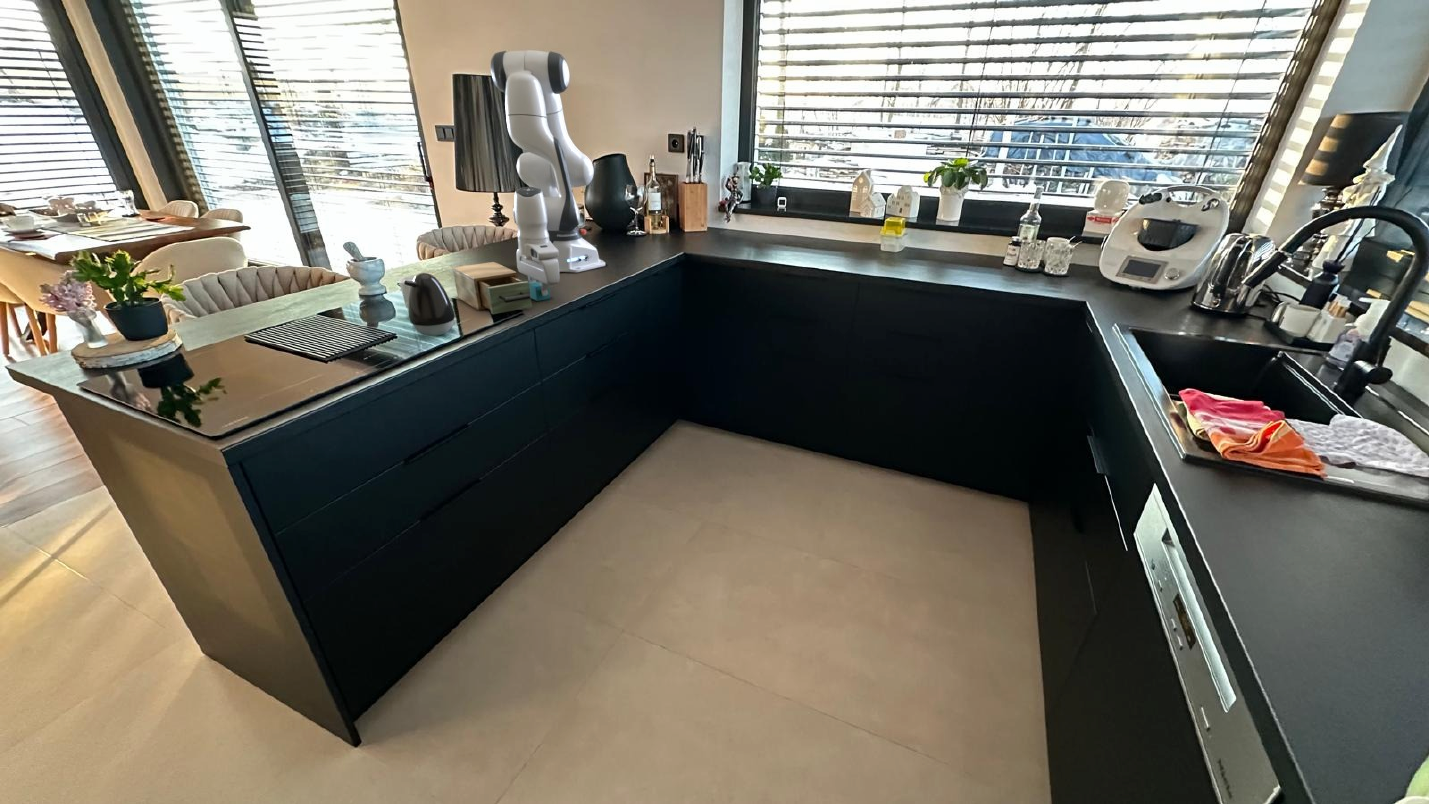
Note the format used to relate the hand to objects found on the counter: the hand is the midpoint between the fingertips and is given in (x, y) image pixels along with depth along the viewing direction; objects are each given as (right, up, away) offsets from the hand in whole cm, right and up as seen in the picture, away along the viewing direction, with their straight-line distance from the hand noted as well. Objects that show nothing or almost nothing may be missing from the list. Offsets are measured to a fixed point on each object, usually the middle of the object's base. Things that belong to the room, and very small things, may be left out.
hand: (539, 292), depth 169 cm
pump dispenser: (-18, -16, -29) cm, 37 cm away
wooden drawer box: (-14, -3, -3) cm, 15 cm away
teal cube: (0, -1, +1) cm, 2 cm away
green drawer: (-7, -6, -10) cm, 14 cm away
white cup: (-26, -10, -18) cm, 33 cm away
